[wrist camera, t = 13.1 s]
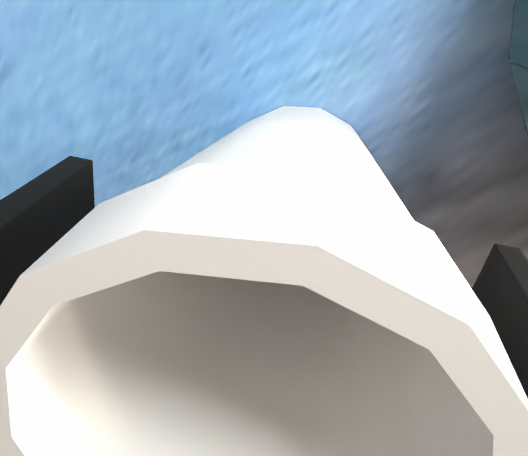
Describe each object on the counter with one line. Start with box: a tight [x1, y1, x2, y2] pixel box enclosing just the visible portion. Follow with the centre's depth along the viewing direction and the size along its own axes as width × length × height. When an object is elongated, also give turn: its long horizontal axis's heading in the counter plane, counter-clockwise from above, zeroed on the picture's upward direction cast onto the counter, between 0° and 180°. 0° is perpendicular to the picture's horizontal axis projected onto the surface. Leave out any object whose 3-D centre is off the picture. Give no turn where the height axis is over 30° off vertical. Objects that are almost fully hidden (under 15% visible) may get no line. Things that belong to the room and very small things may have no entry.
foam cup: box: [0, 106, 528, 456], centre depth 13 cm, size 10×9×13 cm
